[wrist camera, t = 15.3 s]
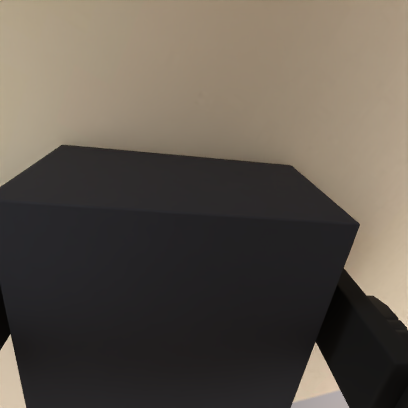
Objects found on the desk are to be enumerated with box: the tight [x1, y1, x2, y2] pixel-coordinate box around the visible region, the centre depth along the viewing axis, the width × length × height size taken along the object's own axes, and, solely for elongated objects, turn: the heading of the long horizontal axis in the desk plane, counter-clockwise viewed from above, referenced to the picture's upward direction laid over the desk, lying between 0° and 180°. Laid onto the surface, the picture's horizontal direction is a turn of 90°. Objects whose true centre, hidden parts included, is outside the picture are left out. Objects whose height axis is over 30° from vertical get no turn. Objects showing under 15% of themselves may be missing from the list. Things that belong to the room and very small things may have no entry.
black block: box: [0, 145, 360, 408], centre depth 11 cm, size 9×8×5 cm
